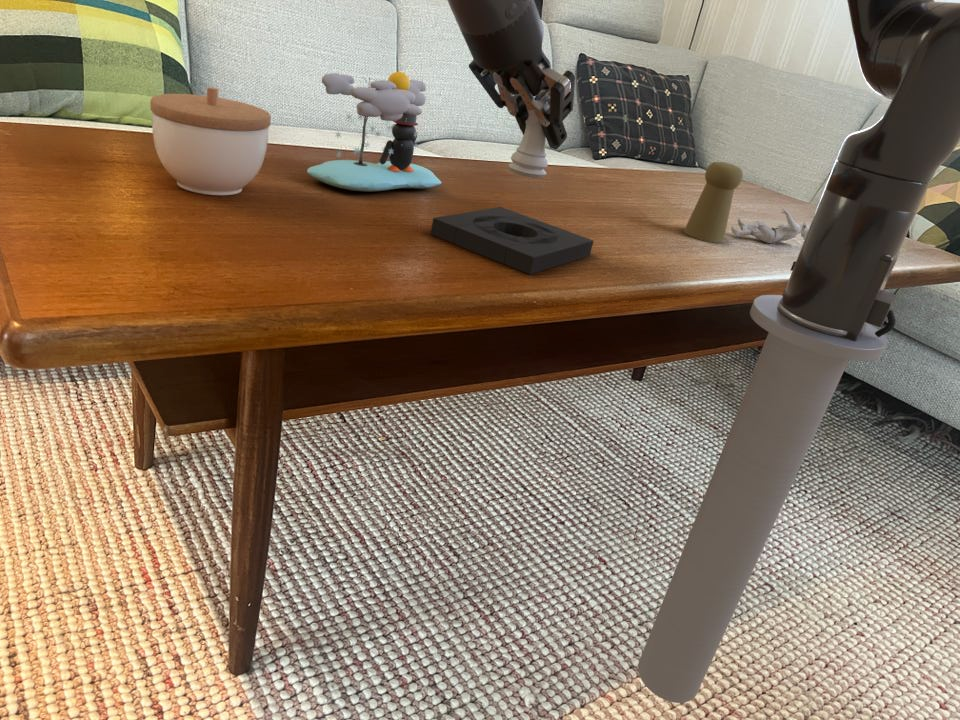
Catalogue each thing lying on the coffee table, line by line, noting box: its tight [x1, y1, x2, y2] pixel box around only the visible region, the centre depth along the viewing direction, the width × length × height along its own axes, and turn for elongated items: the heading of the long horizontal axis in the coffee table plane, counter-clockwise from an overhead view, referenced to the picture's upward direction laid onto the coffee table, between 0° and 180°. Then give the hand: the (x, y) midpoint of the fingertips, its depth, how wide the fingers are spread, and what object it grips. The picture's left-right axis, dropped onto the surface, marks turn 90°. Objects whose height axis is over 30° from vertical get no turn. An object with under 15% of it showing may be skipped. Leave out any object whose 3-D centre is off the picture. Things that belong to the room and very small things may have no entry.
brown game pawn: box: [683, 161, 744, 244], centre depth 108 cm, size 6×6×11 cm
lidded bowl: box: [149, 86, 272, 196], centre depth 83 cm, size 13×13×11 cm
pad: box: [430, 206, 594, 275], centre depth 86 cm, size 14×14×2 cm
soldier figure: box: [730, 207, 810, 244], centre depth 114 cm, size 8×5×12 cm
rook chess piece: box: [508, 102, 550, 179], centre depth 81 cm, size 4×4×8 cm
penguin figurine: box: [306, 71, 442, 193], centre depth 97 cm, size 20×11×15 cm, turn 133°
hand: (545, 138), depth 83 cm, fingers closed on rook chess piece, 3 cm apart
